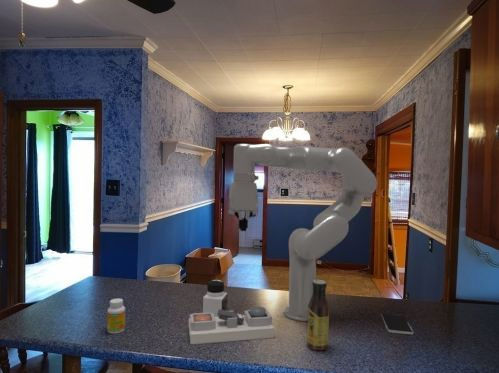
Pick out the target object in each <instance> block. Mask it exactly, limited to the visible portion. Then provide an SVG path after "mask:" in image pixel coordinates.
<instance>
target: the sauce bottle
mask: <svg viewBox="0 0 499 373" xmlns="http://www.w3.org/2000/svg"><path fill="white" fill-rule="evenodd" d="M312 285H313V294H312V297H311V300H310V302H309V305H308V318H307V321H306V322H307V323H306V342H307V343H306V344H307V346H308V348H310V349H311V350H315V351H323V350H324V351H325V350H327V348H328V343H329V341H328V340H329V327H330V326H329V324H330V323H329V322H330V321H329V320H330V313H329V312H330V311H329V310H330V304H329V302H328V299H327V294H326V291H327V290H326V288H327V281H325V280H323V279H316V280H314V281H313V284H312Z"/></svg>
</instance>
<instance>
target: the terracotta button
mask: <svg viewBox="0 0 499 373" xmlns="http://www.w3.org/2000/svg"><path fill="white" fill-rule="evenodd" d="M210 319H211V317H210V316H209V315H206V314H201V315H197V316H195V322H197V321H210Z"/></svg>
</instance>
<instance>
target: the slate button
mask: <svg viewBox="0 0 499 373" xmlns="http://www.w3.org/2000/svg"><path fill="white" fill-rule="evenodd" d="M249 310H250V316H251V318H255V317H265V312H266V308H265V307H263V306H259V305H257V306H252V307H250V309H249Z"/></svg>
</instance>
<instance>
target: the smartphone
mask: <svg viewBox="0 0 499 373" xmlns="http://www.w3.org/2000/svg"><path fill="white" fill-rule="evenodd" d="M380 314H381V318H382V321H383V323H384V325H385V329H386V330H387V332H388V333H394V334H405V335H414V330H413V329H412V328H413V327H411V325H410V324H409V322H408V321H407V318H406V317H405V315H403V314H393V313H380Z"/></svg>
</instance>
